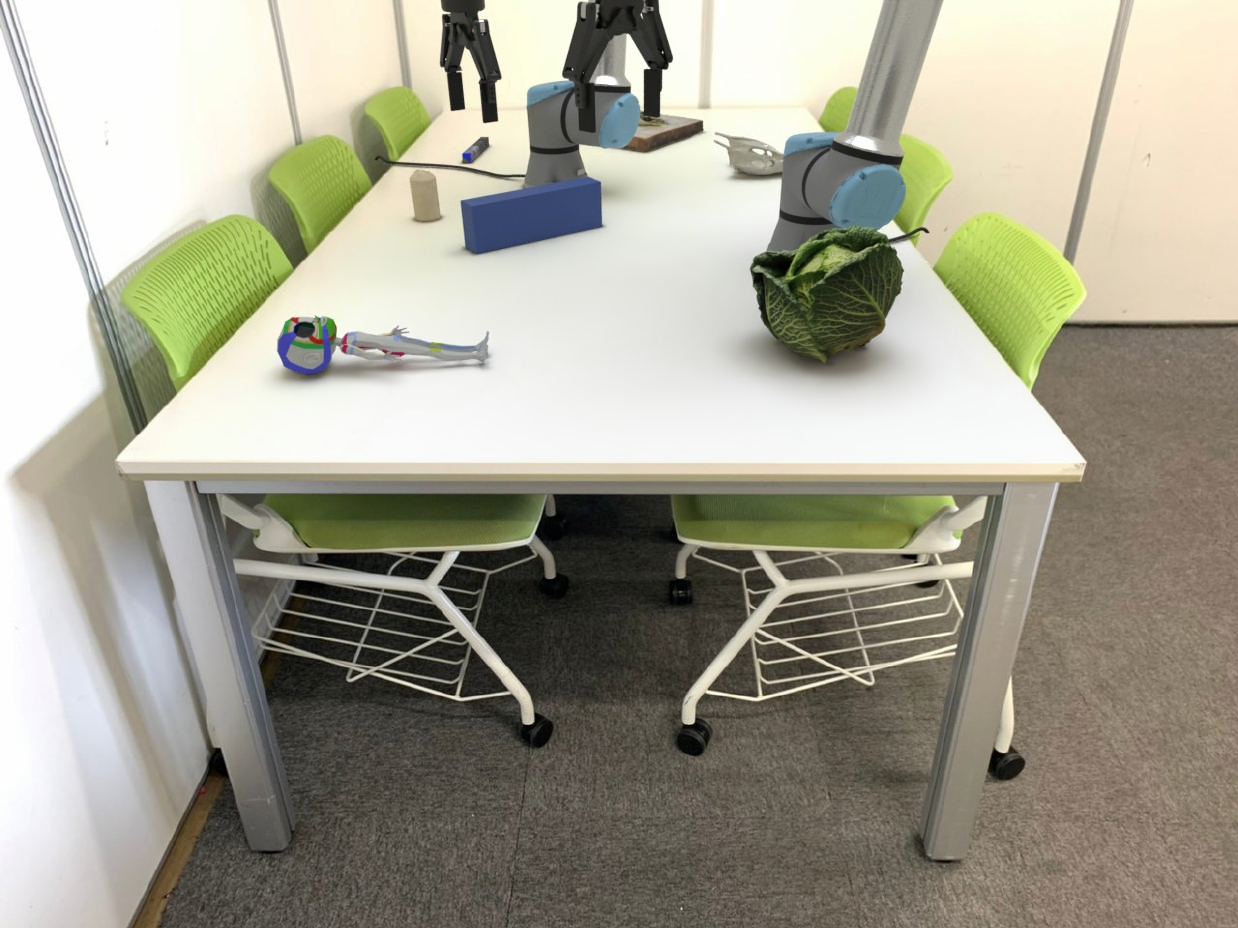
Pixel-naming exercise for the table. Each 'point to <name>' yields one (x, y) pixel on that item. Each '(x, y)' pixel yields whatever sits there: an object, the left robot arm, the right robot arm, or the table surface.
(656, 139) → the plaque
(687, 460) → the table surface
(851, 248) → the vegetable
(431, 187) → the candle
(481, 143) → the pillar
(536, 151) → the left robot arm
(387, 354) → the toy
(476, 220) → the bar
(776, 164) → the anatomical model
